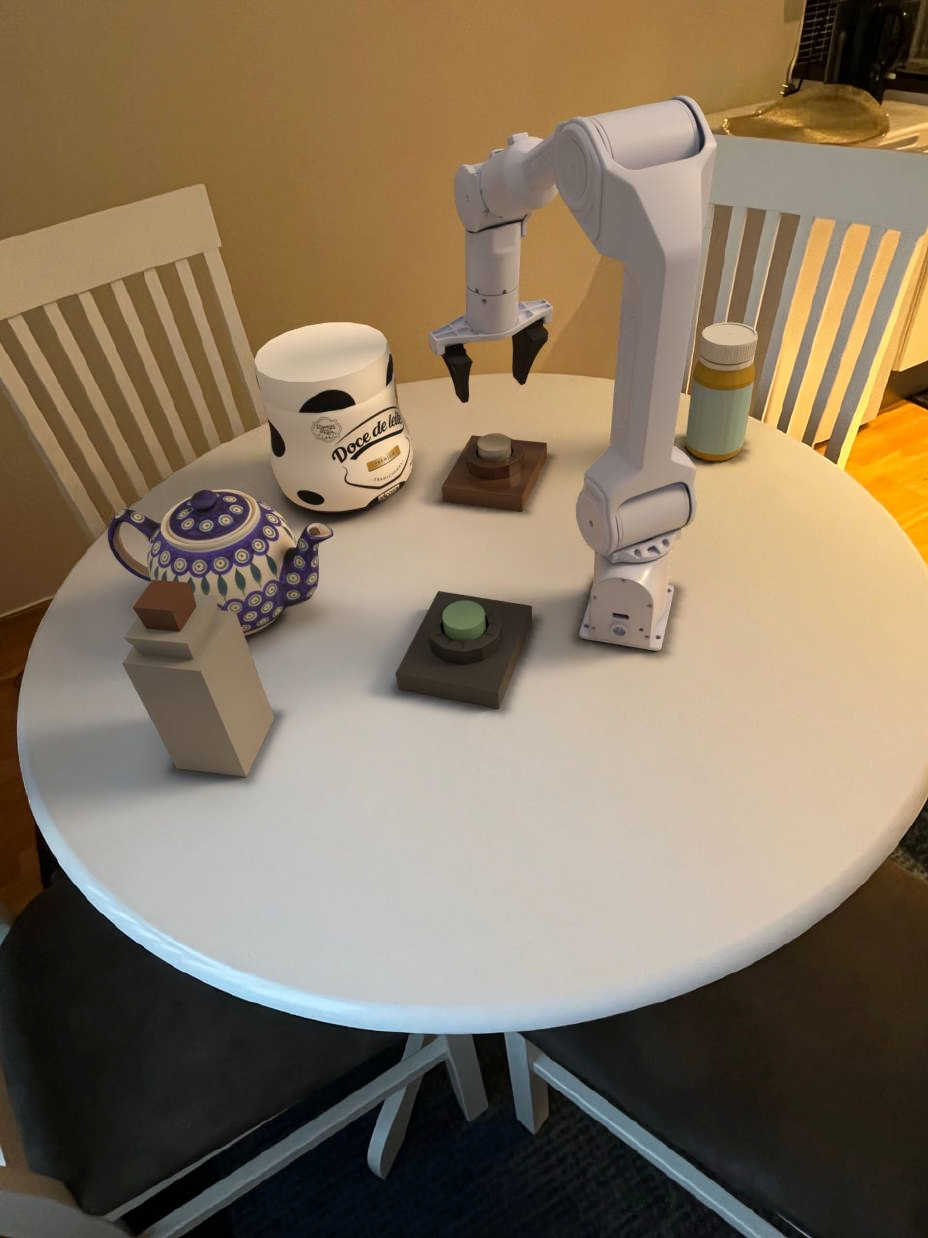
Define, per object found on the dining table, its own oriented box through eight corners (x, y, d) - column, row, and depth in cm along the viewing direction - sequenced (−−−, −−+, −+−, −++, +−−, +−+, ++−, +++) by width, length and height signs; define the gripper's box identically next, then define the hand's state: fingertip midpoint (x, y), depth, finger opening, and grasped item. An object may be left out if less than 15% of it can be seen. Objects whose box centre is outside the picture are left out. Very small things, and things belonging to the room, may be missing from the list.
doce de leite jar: (404, 526, 98) (382, 385, 86) (264, 526, 100) (222, 388, 88) (426, 448, 110) (409, 315, 98) (300, 449, 113) (269, 319, 101)
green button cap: (478, 645, 77) (477, 632, 76) (438, 638, 78) (436, 625, 77) (491, 617, 80) (489, 603, 79) (451, 610, 81) (450, 597, 80)
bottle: (748, 461, 102) (768, 344, 92) (690, 464, 102) (704, 349, 92) (735, 432, 107) (753, 318, 97) (680, 435, 108) (693, 322, 97)
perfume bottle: (246, 777, 73) (182, 628, 61) (176, 768, 74) (100, 621, 62) (274, 718, 78) (220, 569, 65) (208, 710, 79) (143, 563, 67)
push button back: (522, 511, 98) (521, 483, 95) (442, 501, 101) (439, 473, 98) (547, 457, 106) (546, 429, 104) (472, 449, 109) (470, 422, 106)
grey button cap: (506, 464, 99) (505, 452, 98) (474, 461, 100) (473, 448, 99) (515, 447, 102) (514, 434, 101) (484, 444, 103) (483, 431, 102)
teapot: (103, 641, 87) (44, 528, 77) (173, 553, 98) (128, 443, 88) (324, 671, 81) (290, 552, 71) (373, 573, 92) (350, 458, 82)
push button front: (499, 708, 76) (496, 679, 73) (398, 689, 79) (392, 659, 76) (532, 621, 84) (531, 591, 82) (440, 606, 87) (436, 577, 84)
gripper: (533, 248, 93) (528, 355, 103) (414, 280, 89) (421, 387, 99) (566, 278, 89) (556, 385, 99) (442, 312, 85) (446, 420, 95)
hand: (490, 388), depth 99 cm, fingers open, 7 cm apart
